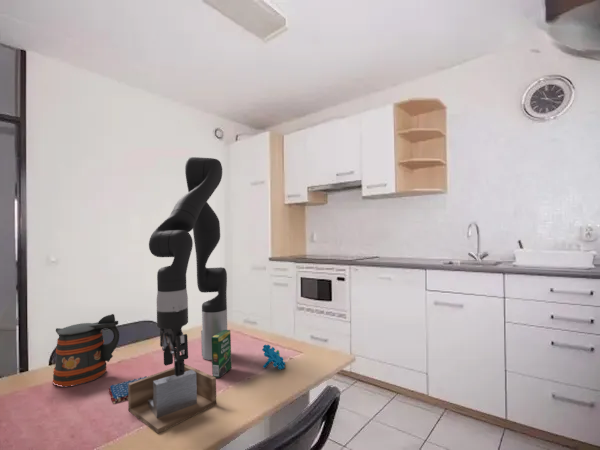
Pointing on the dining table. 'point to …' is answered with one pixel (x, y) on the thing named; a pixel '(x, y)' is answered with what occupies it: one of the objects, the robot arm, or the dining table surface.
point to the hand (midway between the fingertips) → (173, 369)
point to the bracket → (173, 393)
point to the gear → (273, 357)
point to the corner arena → (139, 407)
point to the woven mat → (120, 391)
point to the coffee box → (221, 353)
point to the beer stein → (83, 351)
